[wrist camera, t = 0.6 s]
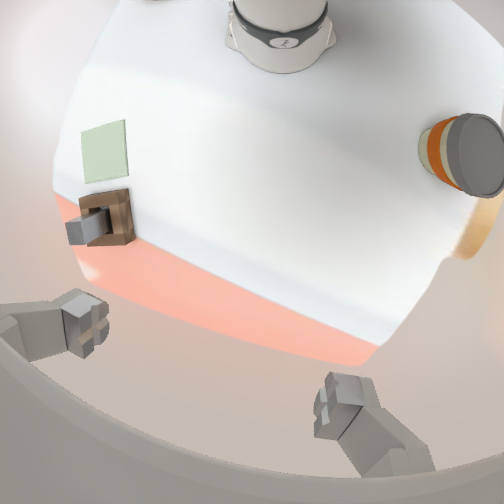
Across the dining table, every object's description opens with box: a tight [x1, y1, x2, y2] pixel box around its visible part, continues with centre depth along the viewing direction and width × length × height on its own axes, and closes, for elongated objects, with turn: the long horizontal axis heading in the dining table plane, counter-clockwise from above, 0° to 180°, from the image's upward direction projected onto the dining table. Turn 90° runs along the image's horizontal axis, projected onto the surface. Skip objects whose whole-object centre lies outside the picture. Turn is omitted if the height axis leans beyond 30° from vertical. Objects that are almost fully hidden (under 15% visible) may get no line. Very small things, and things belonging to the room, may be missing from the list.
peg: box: [65, 206, 113, 245], centre depth 44 cm, size 4×4×12 cm
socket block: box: [79, 189, 136, 247], centre depth 47 cm, size 10×10×4 cm
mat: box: [81, 120, 129, 184], centre depth 44 cm, size 11×11×1 cm
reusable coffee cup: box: [418, 113, 504, 198], centre depth 31 cm, size 12×13×15 cm
